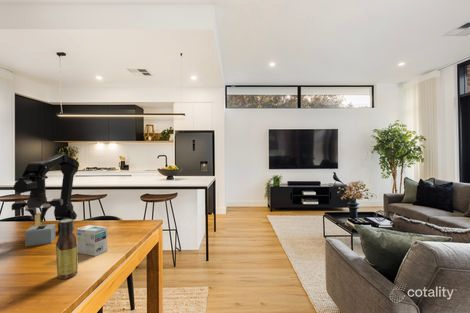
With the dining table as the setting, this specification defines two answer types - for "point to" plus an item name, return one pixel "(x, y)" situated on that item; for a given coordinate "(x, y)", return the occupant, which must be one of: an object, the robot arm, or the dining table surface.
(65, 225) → the sauce bottle
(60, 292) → the dining table surface
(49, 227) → the coin box
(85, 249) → the light bulb box
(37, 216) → the block
